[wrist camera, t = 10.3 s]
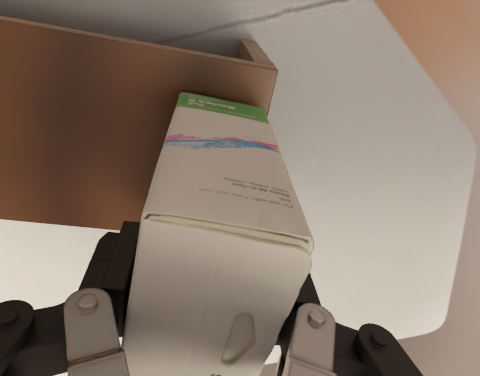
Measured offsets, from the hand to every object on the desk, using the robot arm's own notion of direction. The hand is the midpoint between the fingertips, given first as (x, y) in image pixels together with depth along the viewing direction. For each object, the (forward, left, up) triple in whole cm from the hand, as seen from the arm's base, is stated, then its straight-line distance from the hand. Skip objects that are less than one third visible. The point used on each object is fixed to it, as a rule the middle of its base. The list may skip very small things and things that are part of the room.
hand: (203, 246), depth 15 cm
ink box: (0, 0, -8) cm, 8 cm away
